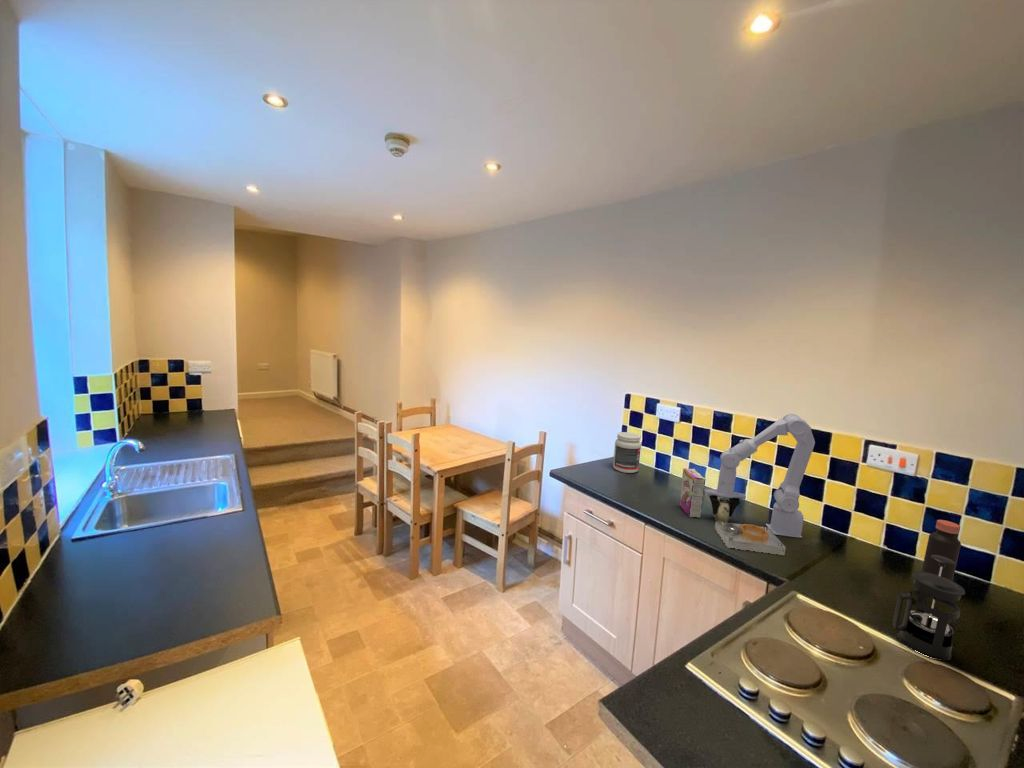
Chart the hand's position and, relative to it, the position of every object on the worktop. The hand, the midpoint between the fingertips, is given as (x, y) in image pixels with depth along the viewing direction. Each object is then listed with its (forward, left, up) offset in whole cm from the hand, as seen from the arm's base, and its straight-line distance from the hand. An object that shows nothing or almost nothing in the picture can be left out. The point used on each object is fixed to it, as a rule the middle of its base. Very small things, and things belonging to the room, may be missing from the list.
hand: (721, 514), depth 166 cm
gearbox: (-4, +16, -2) cm, 17 cm away
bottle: (-53, +29, -2) cm, 60 cm away
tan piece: (0, +1, -2) cm, 2 cm away
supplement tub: (+32, -48, -2) cm, 58 cm away
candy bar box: (+11, -4, -2) cm, 12 cm away
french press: (-28, +60, -2) cm, 66 cm away
